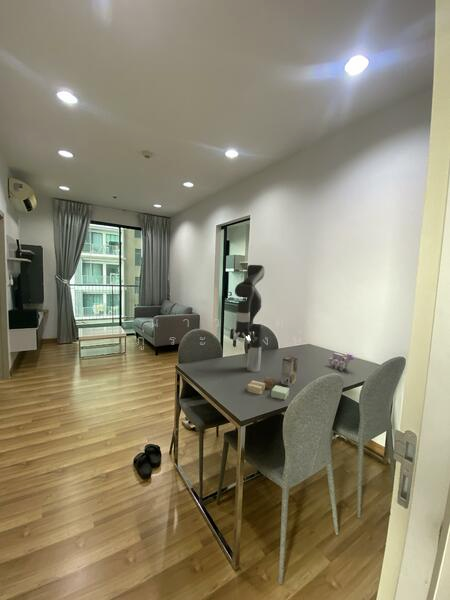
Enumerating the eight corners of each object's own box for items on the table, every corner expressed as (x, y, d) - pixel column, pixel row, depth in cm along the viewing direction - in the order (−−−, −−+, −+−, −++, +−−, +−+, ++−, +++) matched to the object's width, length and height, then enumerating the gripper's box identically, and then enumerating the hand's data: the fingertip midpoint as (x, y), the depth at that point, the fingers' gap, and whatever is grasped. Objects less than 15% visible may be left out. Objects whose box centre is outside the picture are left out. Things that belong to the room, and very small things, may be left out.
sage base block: (275, 391, 154) (275, 385, 154) (288, 395, 151) (289, 388, 150) (271, 396, 147) (271, 390, 147) (285, 400, 144) (285, 393, 143)
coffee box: (286, 379, 173) (288, 355, 172) (296, 382, 169) (298, 358, 168) (280, 383, 166) (282, 358, 165) (289, 386, 162) (291, 361, 161)
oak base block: (252, 386, 160) (252, 380, 159) (264, 389, 156) (265, 383, 156) (247, 391, 153) (247, 384, 152) (260, 395, 149) (260, 388, 149)
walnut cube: (266, 384, 164) (266, 376, 163) (273, 386, 161) (274, 378, 161) (263, 387, 159) (264, 379, 159) (271, 389, 157) (272, 381, 156)
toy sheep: (359, 372, 194) (360, 354, 192) (350, 375, 188) (352, 357, 186) (334, 363, 210) (335, 347, 208) (326, 366, 204) (327, 349, 203)
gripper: (257, 320, 147) (255, 348, 149) (234, 317, 154) (233, 344, 155) (252, 322, 140) (250, 352, 142) (228, 319, 147) (227, 347, 149)
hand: (241, 348), depth 149 cm, fingers open, 8 cm apart
